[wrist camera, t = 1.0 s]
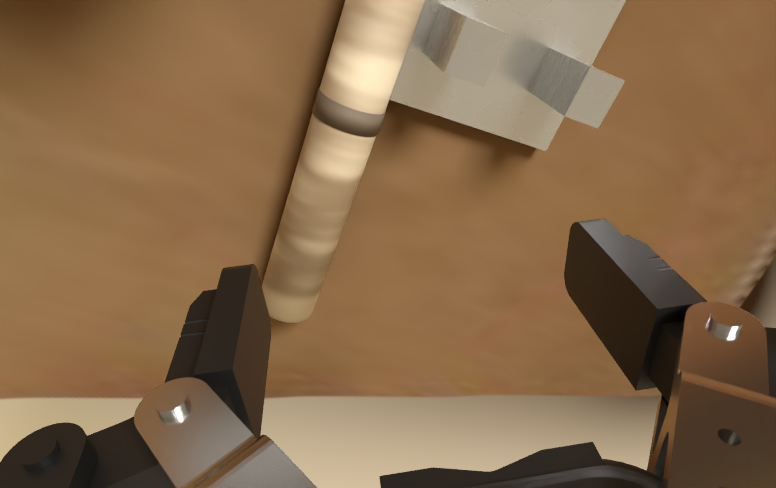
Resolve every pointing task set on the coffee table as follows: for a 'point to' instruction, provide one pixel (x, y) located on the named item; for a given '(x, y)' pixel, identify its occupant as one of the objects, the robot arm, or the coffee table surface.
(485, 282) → the coffee table surface
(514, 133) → the white peg stand
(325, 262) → the dowel
